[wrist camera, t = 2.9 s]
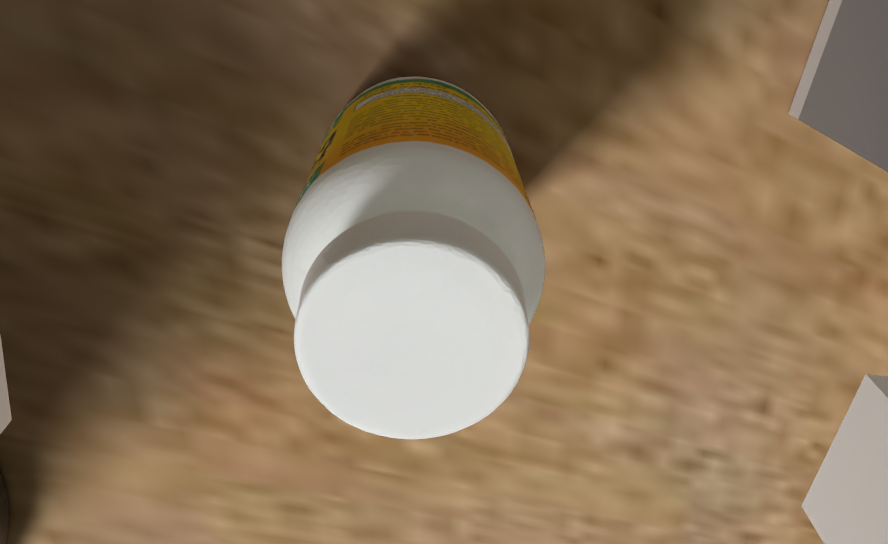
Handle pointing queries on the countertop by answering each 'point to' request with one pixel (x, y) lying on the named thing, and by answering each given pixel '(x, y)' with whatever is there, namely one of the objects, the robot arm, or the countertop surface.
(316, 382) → the supplement bottle
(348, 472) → the countertop surface
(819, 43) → the well
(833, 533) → the robot arm
